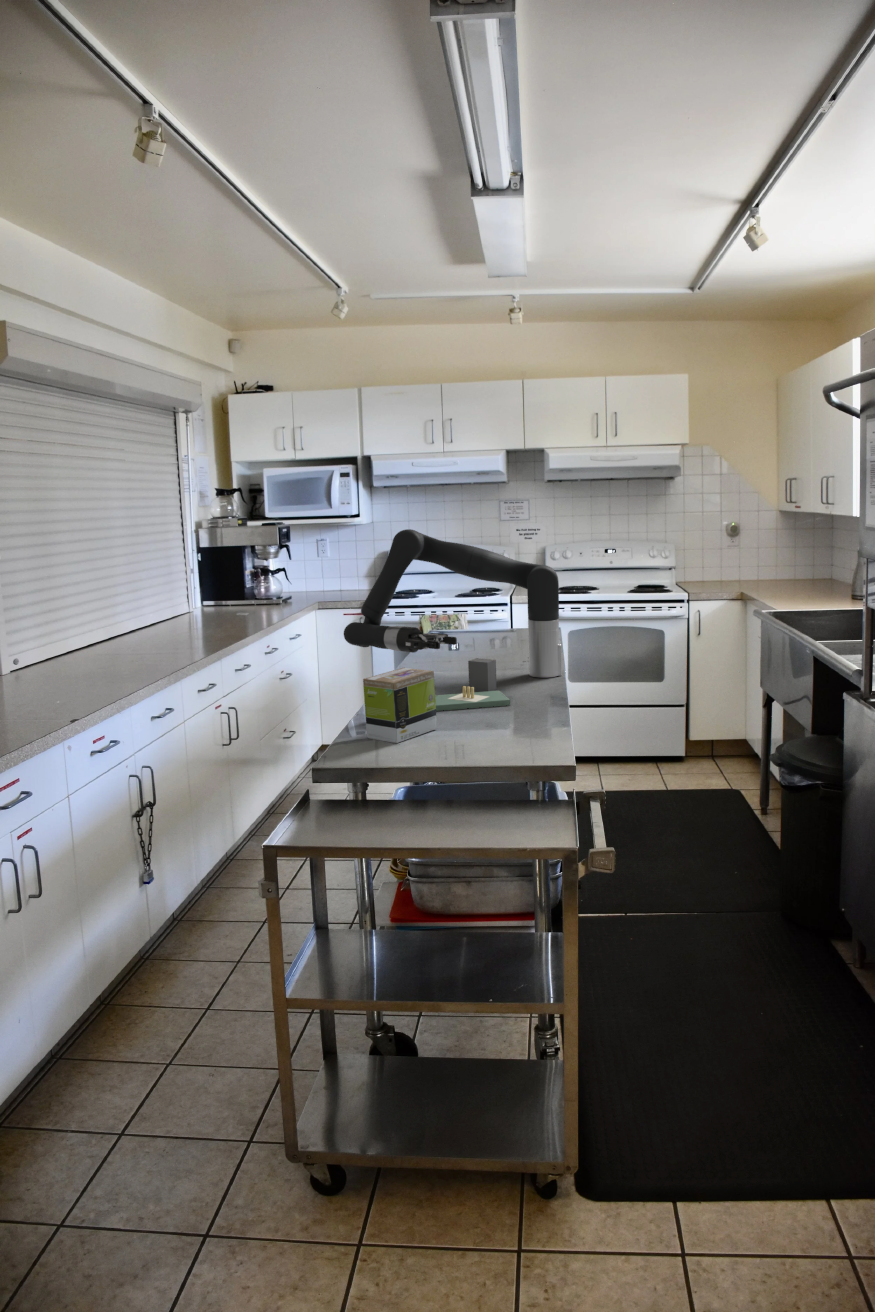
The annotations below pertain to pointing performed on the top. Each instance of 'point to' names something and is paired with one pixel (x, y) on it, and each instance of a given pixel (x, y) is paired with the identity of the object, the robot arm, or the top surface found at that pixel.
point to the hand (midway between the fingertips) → (447, 643)
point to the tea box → (400, 704)
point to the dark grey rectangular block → (482, 675)
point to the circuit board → (470, 700)
